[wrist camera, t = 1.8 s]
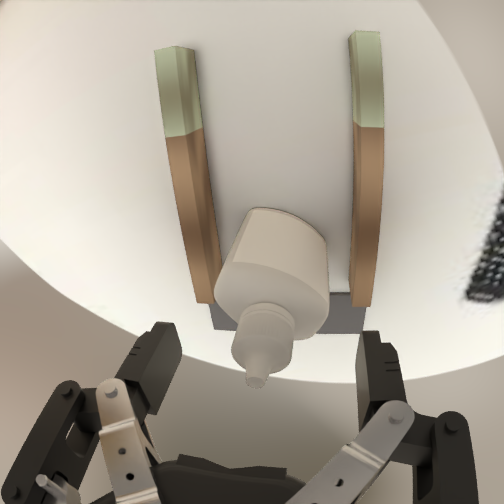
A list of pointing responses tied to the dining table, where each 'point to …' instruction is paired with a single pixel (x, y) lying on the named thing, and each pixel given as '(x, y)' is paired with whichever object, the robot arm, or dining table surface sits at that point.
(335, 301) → the plate
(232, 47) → the dining table surface
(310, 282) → the eye dropper bottle
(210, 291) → the walnut channel
